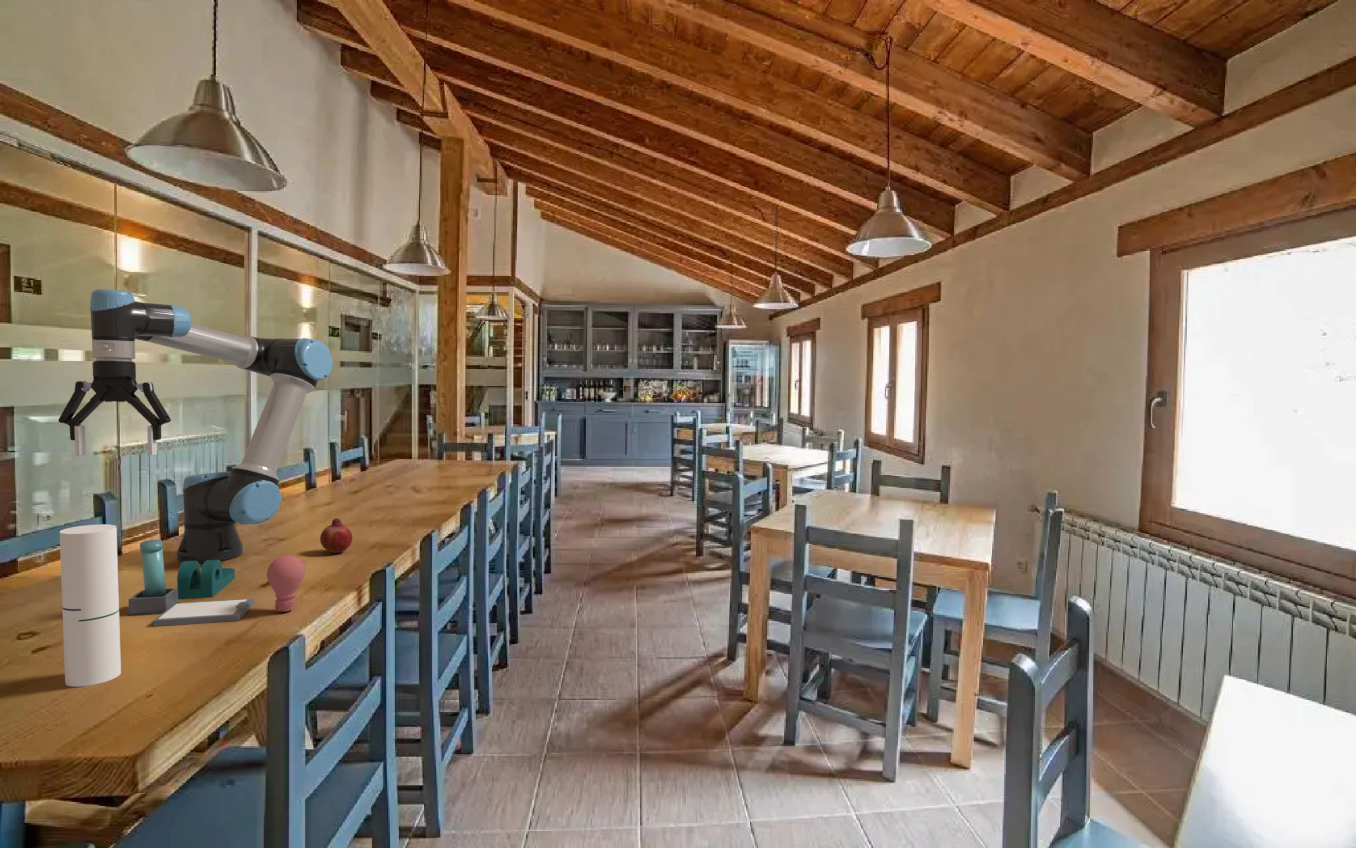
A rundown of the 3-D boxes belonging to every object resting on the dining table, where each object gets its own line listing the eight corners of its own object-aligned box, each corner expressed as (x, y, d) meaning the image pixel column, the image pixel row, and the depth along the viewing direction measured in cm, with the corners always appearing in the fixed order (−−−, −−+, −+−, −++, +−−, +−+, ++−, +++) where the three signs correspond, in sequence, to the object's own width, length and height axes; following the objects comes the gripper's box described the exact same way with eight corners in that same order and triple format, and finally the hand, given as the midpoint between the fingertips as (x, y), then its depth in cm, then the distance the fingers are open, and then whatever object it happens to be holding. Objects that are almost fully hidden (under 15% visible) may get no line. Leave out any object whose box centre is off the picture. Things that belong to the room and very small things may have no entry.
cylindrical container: (86, 668, 120) (81, 524, 118) (131, 668, 120) (126, 524, 119) (53, 687, 113) (47, 533, 111) (100, 686, 113) (95, 534, 112)
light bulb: (313, 608, 153) (312, 554, 152) (285, 618, 146) (284, 562, 145) (288, 604, 155) (287, 550, 154) (259, 614, 148) (258, 558, 147)
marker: (150, 600, 152) (145, 539, 150) (170, 600, 153) (165, 539, 150) (142, 608, 149) (136, 546, 146) (162, 607, 150) (157, 545, 147)
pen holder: (143, 605, 152) (142, 589, 152) (178, 603, 154) (178, 587, 154) (128, 615, 146) (128, 599, 145) (166, 613, 148) (165, 597, 147)
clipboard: (175, 608, 150) (174, 600, 150) (254, 603, 155) (254, 595, 155) (153, 626, 140) (152, 617, 140) (238, 620, 144) (238, 612, 144)
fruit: (347, 548, 205) (346, 514, 204) (356, 553, 199) (356, 519, 198) (317, 552, 199) (316, 517, 199) (325, 558, 193) (325, 522, 193)
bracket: (212, 598, 158) (211, 564, 158) (177, 600, 157) (177, 565, 156) (238, 576, 176) (238, 545, 175) (208, 577, 174) (207, 546, 173)
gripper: (36, 358, 149) (39, 457, 151) (172, 361, 156) (175, 456, 158) (55, 358, 156) (59, 453, 158) (185, 361, 163) (187, 452, 165)
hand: (117, 455), depth 158 cm, fingers open, 13 cm apart
